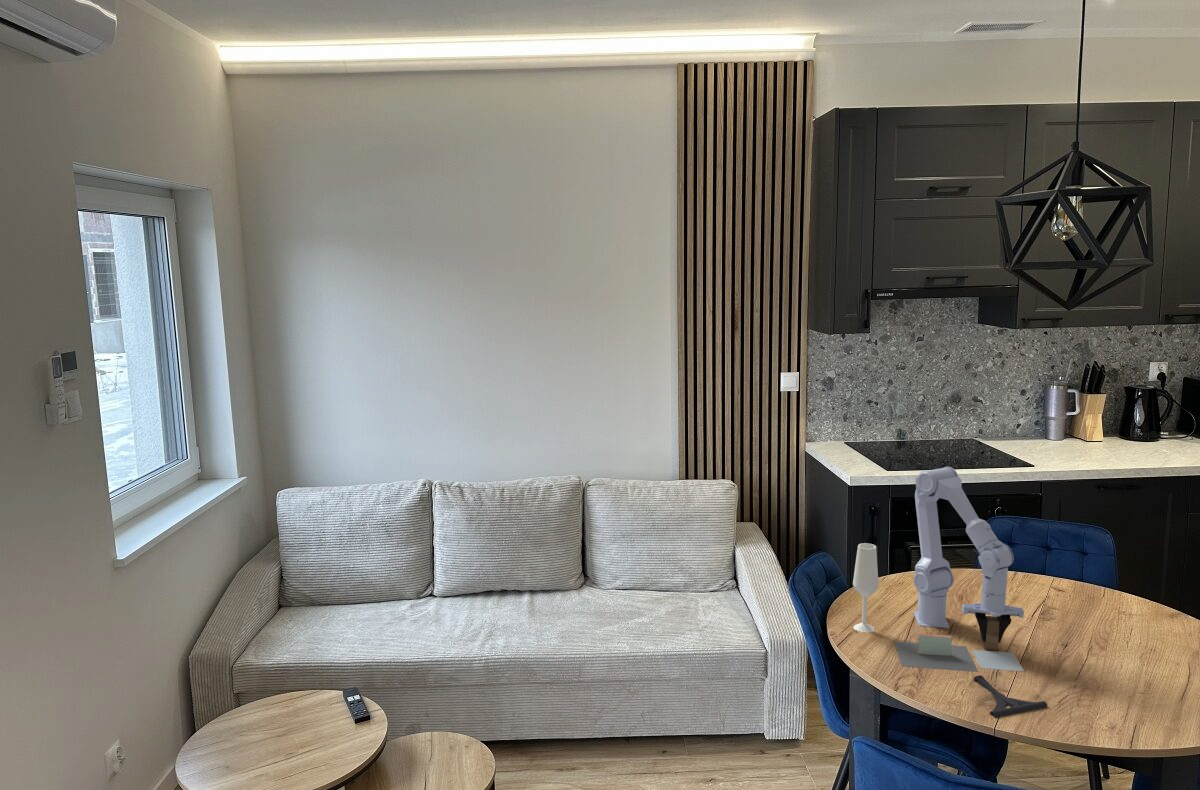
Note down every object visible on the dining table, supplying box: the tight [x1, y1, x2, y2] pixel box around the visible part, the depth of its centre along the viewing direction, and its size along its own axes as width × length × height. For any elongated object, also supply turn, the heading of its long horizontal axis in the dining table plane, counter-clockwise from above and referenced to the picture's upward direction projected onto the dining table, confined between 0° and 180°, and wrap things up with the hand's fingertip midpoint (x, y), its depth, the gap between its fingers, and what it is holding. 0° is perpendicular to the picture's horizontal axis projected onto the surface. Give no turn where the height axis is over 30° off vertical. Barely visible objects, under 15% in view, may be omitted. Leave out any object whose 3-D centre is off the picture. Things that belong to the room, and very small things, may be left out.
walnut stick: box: [982, 615, 1000, 651], centre depth 224 cm, size 3×3×8 cm
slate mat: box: [894, 640, 979, 673], centre depth 220 cm, size 14×18×1 cm
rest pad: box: [971, 649, 1025, 672], centre depth 217 cm, size 10×10×1 cm
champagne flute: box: [852, 542, 879, 634], centre depth 235 cm, size 7×7×24 cm
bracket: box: [973, 675, 1048, 718], centre depth 201 cm, size 14×15×3 cm
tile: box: [917, 633, 953, 656], centre depth 221 cm, size 1×8×5 cm, turn 79°
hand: (990, 640), depth 224 cm, fingers closed on walnut stick, 3 cm apart
